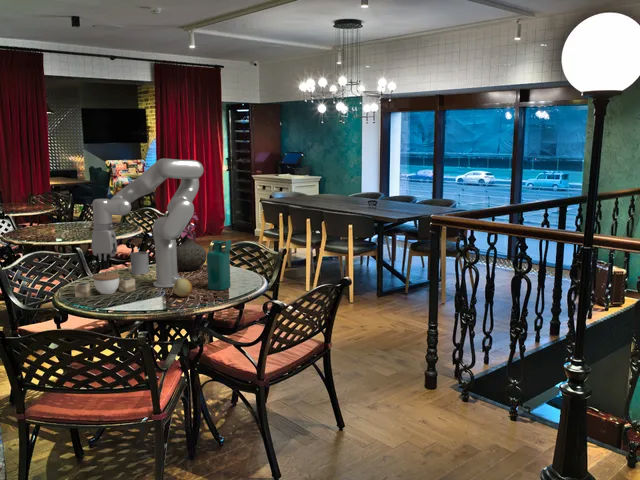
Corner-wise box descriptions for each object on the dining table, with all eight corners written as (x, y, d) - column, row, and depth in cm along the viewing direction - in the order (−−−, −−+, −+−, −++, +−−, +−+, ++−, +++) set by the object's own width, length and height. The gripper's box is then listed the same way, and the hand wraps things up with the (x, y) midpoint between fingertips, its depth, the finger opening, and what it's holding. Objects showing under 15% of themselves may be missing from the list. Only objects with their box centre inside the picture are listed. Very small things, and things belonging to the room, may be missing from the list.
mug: (146, 274, 294) (145, 254, 292) (129, 274, 294) (128, 254, 292) (152, 269, 306) (151, 250, 304) (136, 269, 306) (135, 250, 304)
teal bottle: (206, 289, 262) (204, 241, 258) (215, 285, 270) (214, 238, 266) (225, 291, 258) (224, 242, 255) (234, 287, 266) (233, 239, 263)
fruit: (175, 294, 253) (175, 276, 252) (194, 294, 253) (194, 276, 252) (171, 299, 246) (170, 280, 244) (190, 299, 246) (189, 280, 244)
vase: (175, 274, 293) (173, 215, 288) (171, 267, 309) (169, 211, 305) (209, 271, 299) (207, 213, 294) (203, 265, 315) (201, 210, 310)
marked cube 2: (135, 290, 262) (134, 278, 261) (126, 292, 258) (125, 280, 257) (128, 288, 265) (128, 277, 264) (119, 290, 261) (118, 279, 260)
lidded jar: (96, 296, 250) (94, 275, 249) (93, 291, 259) (91, 270, 258) (122, 293, 255) (120, 272, 253) (118, 288, 264) (117, 268, 263)
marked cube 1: (91, 294, 255) (90, 282, 254) (87, 297, 250) (86, 285, 249) (80, 294, 255) (79, 282, 254) (75, 297, 250) (74, 285, 249)
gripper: (123, 227, 254) (125, 268, 257) (93, 225, 258) (95, 266, 261) (112, 229, 247) (114, 271, 250) (82, 227, 251) (84, 269, 254)
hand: (105, 268), depth 255 cm, fingers closed
